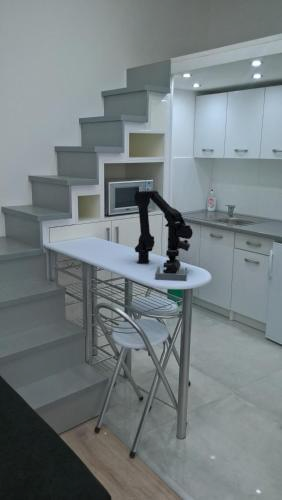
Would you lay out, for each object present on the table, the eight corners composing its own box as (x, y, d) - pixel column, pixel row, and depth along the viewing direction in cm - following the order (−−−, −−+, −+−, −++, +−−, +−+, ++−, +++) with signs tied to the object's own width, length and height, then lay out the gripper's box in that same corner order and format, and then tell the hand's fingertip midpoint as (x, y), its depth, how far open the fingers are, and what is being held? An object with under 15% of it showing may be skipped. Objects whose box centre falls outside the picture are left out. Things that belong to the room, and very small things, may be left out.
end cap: (177, 277, 212) (177, 264, 210) (163, 276, 213) (163, 262, 212) (180, 271, 221) (180, 259, 219) (166, 270, 223) (167, 258, 221)
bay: (157, 271, 220) (157, 266, 220) (186, 273, 219) (186, 267, 218) (155, 279, 207) (155, 273, 207) (186, 280, 206) (186, 274, 205)
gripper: (189, 240, 210) (188, 270, 214) (189, 233, 228) (188, 261, 232) (166, 239, 211) (165, 269, 215) (168, 232, 229) (167, 260, 233)
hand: (172, 265), depth 224 cm, fingers closed
